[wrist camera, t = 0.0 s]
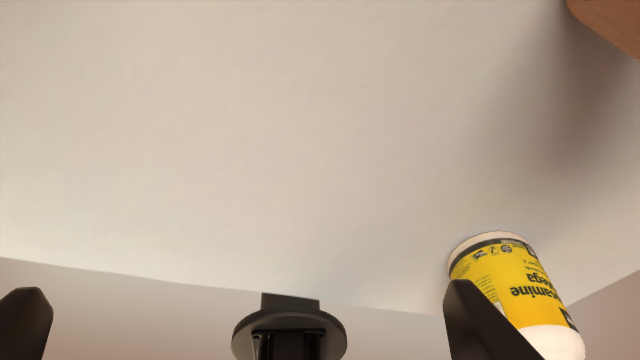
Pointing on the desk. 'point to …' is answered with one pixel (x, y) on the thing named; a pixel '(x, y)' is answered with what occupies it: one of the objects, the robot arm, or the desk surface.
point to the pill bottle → (519, 291)
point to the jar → (611, 21)
